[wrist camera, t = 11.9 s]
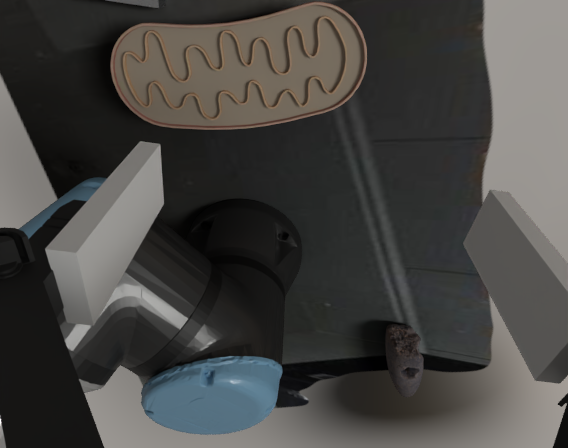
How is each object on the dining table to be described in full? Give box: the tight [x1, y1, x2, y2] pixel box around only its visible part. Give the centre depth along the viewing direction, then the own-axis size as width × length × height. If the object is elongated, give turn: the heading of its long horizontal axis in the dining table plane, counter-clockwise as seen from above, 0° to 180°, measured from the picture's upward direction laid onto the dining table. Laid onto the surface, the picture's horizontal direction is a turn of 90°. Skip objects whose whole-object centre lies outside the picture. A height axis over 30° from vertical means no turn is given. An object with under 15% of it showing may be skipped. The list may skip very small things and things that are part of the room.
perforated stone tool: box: [385, 324, 423, 397], centre depth 59 cm, size 15×5×7 cm, turn 10°
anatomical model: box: [111, 1, 367, 130], centre depth 37 cm, size 23×10×5 cm, turn 97°
